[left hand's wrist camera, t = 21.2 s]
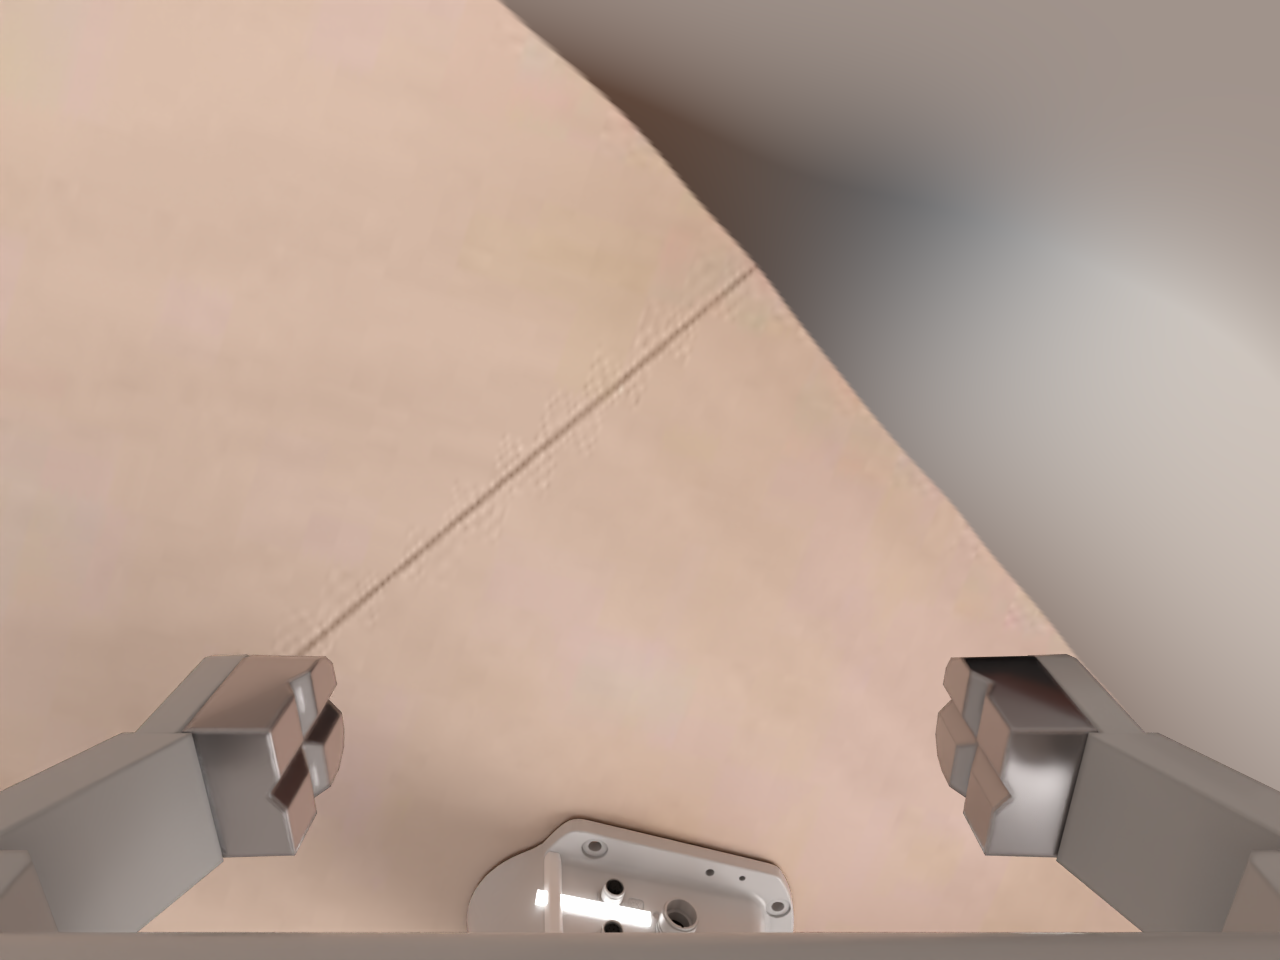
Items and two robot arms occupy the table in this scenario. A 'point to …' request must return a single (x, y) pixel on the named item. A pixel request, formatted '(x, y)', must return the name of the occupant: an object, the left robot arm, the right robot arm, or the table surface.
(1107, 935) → the left robot arm
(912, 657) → the table surface
